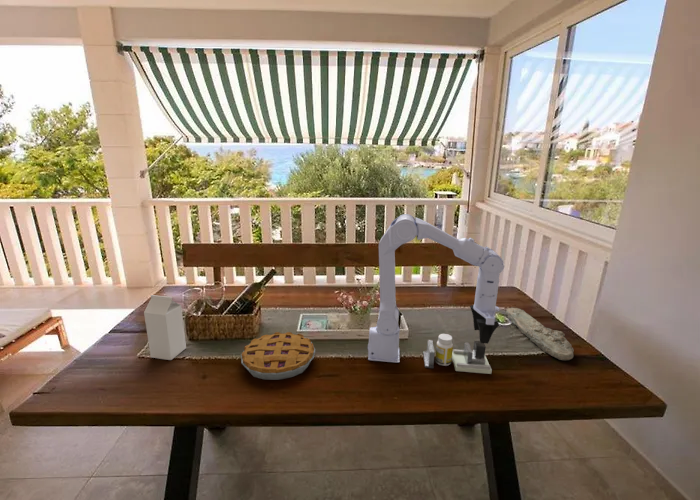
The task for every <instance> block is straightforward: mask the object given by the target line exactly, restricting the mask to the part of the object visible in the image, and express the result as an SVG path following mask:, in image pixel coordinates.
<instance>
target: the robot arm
mask: <svg viewBox="0 0 700 500" xmlns="http://www.w3.org/2000/svg"><path fill="white" fill-rule="evenodd" d="M415 238H416V240H417V241H418V240H423V239H429V240H431V241H433V242H435V243H437V244H440V245H442V246H443V247H447V248H448V249H451V250H452V251H453V254H454V256H455V257H456V258H458V259H461V260H463V261H464V262H466V263H469V264H470V265H473V266H474V267H478V274H477V278H476V279H477V280H476V286H475V287H476V289H475V293H474V294H475V295H474V304H473V305H470V306H469V308H470V311H471V313H472V318H473V319H472V320H473V328H474V331H479V332H478V333H479V335H478V336H479V341H480V342H481V343H484V344H489V342H490V340H491V337H492V335H493V334H494V332H495V330H496V329H497V328H499V325H500V324H499V321H497V320H496V319H495V316H496V312H500V307H499V306H497V298H498V290H499V284H500V274H501V273H502V272H503V270H504V268H505V265H504V260H503V259H502V257H501V256H500V255H499V254H498V253H497V252H496V251H494V249H492V248H490V247H488V246H483V245H481V244H478V243H477V242H475V239H474V238H472V237H469V238H467V237H461V238H457V237H455V236H453V235H451V234H449V233H448V232H446V231H445V230H442V229H440V228H439V227H437V226H435V225H433V224H432V223H429V222H428V221H426V220H423V219H422V218H419V217H414V216H412V214H408V213H403V214H400V215H399V216H398V217H396V218H395V219H394V220H392V221H391V223H390V225H389V226H388V228H387V229H386V231H385V233H383V235H382V236H381V238H380V240H379V242H378V266H379V267H378V268H379V270H378V272H379V273H378V274H379V275H378V276H379V310H378V317H377V321H376V326H372V327H369V331H368V332H369V333H368V344H367V351H368V352H367V357H368V358H367V360H368V361H373V362H384V363H385V362H387V363H400V359H401V358H400V357H401V356H400V347H399V346H400V345H399V344H400V326H399V318H400V317H399V316H400V309H399V307H397V298H396V257H395V256H396V254H395V253H396V250H397V249H398V248H399V247H400V246H402V245H405V244H407V243H409V242H411V241H413V240H414V239H415Z"/></svg>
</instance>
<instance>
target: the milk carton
mask: <svg viewBox="0 0 700 500" xmlns="http://www.w3.org/2000/svg"><path fill="white" fill-rule="evenodd" d="M182 310H183V309H182V304H180V303H178V302H176V301H174V300H173V296H164V295H157V294H156V295H153V294H150V300H149V302H148V303H147V306H146V308H145V310H144V311H143V315H144V321H145V327H146V333H147V341H148V347H149V354H150V355H149V356H150V358H153V359H154V358H155V359H158V360H159V359H160V360H165V361H166V360H168V361H172V360H173V359H174V358H176V357H177V356H178V355H180V354H181V353H182V352H183V351H184V350H185V349H187V344H186V336H185V326H184V317H183V311H182Z"/></svg>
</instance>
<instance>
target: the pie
mask: <svg viewBox="0 0 700 500" xmlns="http://www.w3.org/2000/svg"><path fill="white" fill-rule="evenodd" d="M243 349H244V350H243V351H242V352H241V354H240V358H241V359H240V361H241V365H242V366H243V367H244V368H245V369H246V370H247V371H248V372H249V373H250V374H251V375H252V377H253V378H257V379H260V380H261V379H262V380H275V381H277V380H284V379H289V378H293V377H295V376H298V375H300V374H303V373H304V372H305V371H306V369H308V367H309V365H310V364H311V361H312V360H314V357H315V354H316V348H315V346H314V343H313V342H312V341H311V339H310V338H307V337H305V336H304V335H303V334H301V333H297V334H294V333H292V332H291V331H289V332H288V331H287V332H284V333H281V332H280V331H279V332H277V331H276V332H275V331H274V333H273V334H264V335H261V336H260V337H259V338H253V339H252V340H250V343H249V344H247V345H245V346H244V348H243Z"/></svg>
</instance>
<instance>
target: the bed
mask: <svg viewBox="0 0 700 500" xmlns="http://www.w3.org/2000/svg"><path fill="white" fill-rule="evenodd" d="M463 352H464V349H456V348H455V349H454V348H453V352H452V363H453V366H454V370H455V371H456V372H465V373H475V374H485V375H486V374H487V375H488V374H489V375H492V371H493V369H492V367H491V364H489V361H488V359H487V356H486V355H485V356H484V357H485V359H486V361H485V365H478V364H467V363H466V360H465V357H464V354H463Z"/></svg>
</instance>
